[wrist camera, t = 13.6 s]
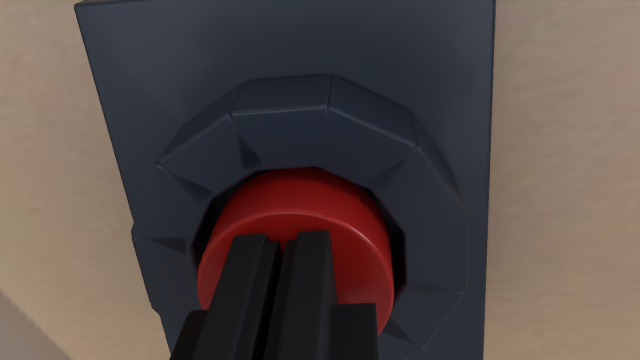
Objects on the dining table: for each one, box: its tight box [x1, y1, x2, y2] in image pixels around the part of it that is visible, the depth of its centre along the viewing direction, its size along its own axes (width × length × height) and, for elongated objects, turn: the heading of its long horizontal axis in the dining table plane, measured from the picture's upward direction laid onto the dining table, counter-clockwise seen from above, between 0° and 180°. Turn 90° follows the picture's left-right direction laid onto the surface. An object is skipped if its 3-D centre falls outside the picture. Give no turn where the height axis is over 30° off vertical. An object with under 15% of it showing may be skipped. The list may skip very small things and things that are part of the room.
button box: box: [74, 0, 496, 360], centre depth 14 cm, size 10×8×4 cm
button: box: [197, 167, 394, 335], centre depth 11 cm, size 4×4×2 cm
